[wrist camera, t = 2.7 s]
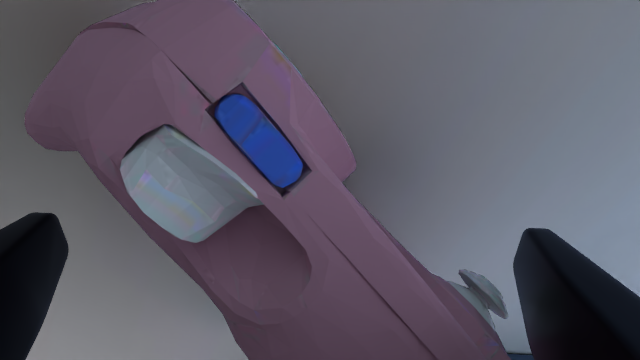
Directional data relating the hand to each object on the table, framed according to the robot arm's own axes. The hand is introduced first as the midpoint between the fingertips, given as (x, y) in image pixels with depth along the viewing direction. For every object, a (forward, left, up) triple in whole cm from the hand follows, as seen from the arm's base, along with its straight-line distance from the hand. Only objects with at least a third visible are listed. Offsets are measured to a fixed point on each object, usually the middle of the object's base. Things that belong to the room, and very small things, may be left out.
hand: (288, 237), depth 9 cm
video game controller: (0, 0, -2) cm, 3 cm away
